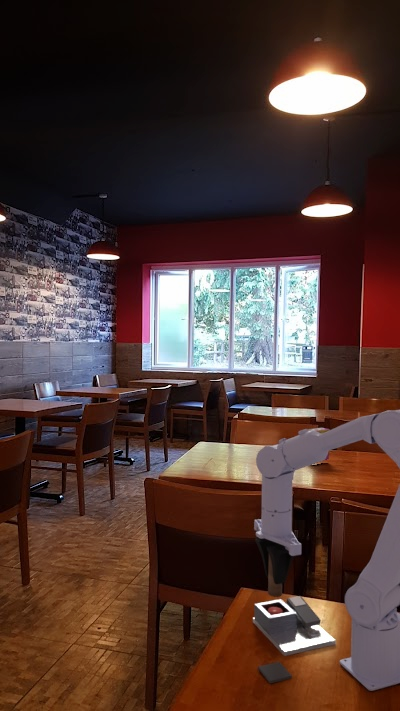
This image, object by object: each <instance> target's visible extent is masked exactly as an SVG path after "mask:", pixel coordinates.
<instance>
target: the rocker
mask: <svg viewBox="0 0 400 711" xmlns="http://www.w3.org/2000/svg"><path fill="white" fill-rule="evenodd" d="M285 603H286V604H287V605H288V606H289V607H290V608H291V609H293V610H294V611H295V612H296V613H297V618H298V619H299V620H300V622H301V623H302V624H303V626H304V627H305V628H307V627H311V626H316V625H319V626H321V619H320V617H319V616H318V615H317V613H316V612H315V611H314V610H313V608H311V606H310V605H309V604H308V603H307V602H306V600H305V599H304V598H303V596H301V595H299V596H294V597H288V598H286V601H285Z"/></svg>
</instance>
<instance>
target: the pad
mask: <svg viewBox="0 0 400 711" xmlns="http://www.w3.org/2000/svg"><path fill="white" fill-rule="evenodd" d="M257 670H258V671H259V672H260V673H261V675H262V676H263V677H264V678H265V679H266V681H267V682H268V683H269V684H275V683H278V682H282V681H286V680H291V679H292V678H293V675H292V674H291V673H290V672H289V671H288V669H287V668H285V666H284V665H283V664H282V663H281V661H277V662H273V663H269V664H268V663H267V664H263V665H259V666H257Z"/></svg>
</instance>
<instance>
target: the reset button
mask: <svg viewBox="0 0 400 711" xmlns="http://www.w3.org/2000/svg"><path fill="white" fill-rule="evenodd" d="M268 613H269V614H270V615H275V614H280V613H283V610H282V609H281V608H278V607H270V608H269V609H268Z"/></svg>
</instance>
